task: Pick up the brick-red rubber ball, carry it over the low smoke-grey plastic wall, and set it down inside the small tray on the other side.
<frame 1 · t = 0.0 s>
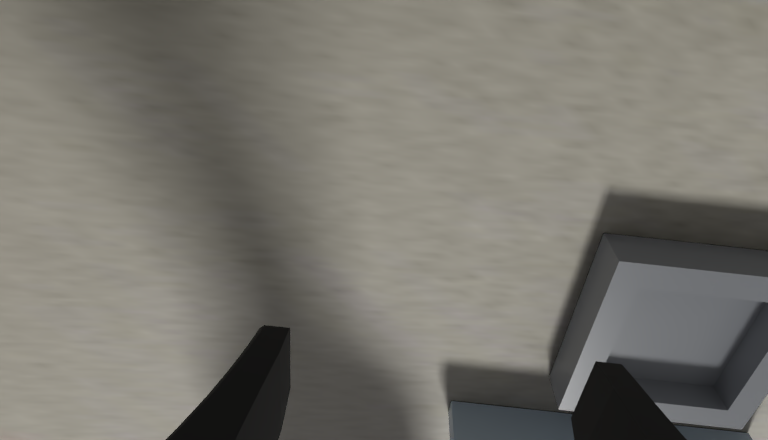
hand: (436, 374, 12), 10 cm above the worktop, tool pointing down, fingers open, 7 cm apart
low wall: (596, 422, 28), on the worktop
tray: (668, 322, 24), on the worktop
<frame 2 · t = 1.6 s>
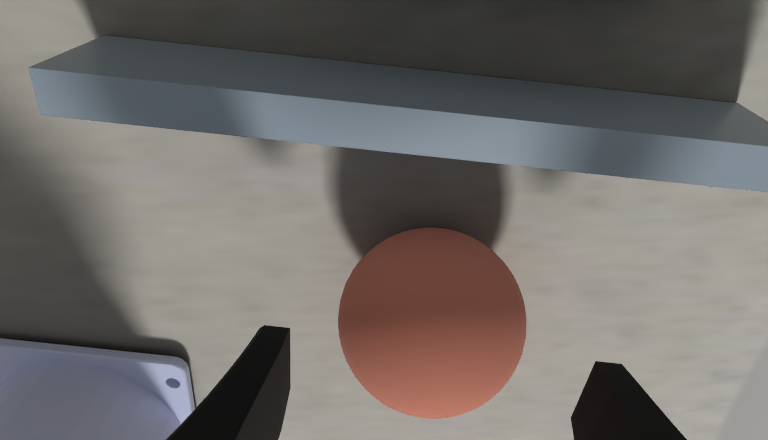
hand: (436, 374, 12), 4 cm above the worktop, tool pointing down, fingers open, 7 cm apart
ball: (430, 319, 14), point 2 cm above the worktop
low wall: (419, 88, 13), on the worktop
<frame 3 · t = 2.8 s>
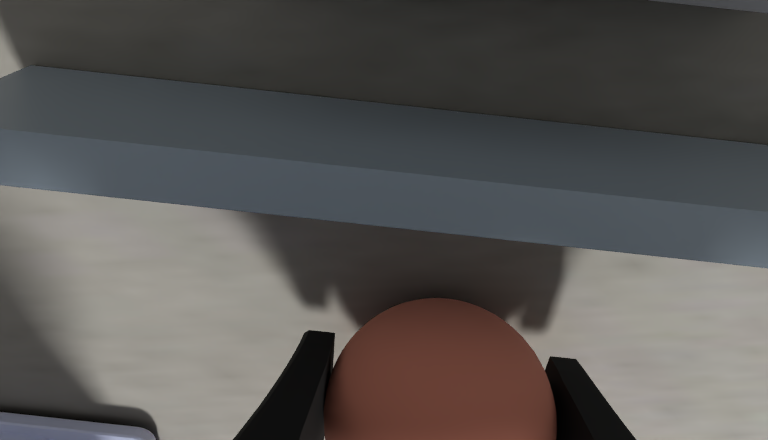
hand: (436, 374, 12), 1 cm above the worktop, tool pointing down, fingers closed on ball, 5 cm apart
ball: (437, 412, 11), point 2 cm above the worktop, touching gripper
low wall: (424, 131, 11), on the worktop
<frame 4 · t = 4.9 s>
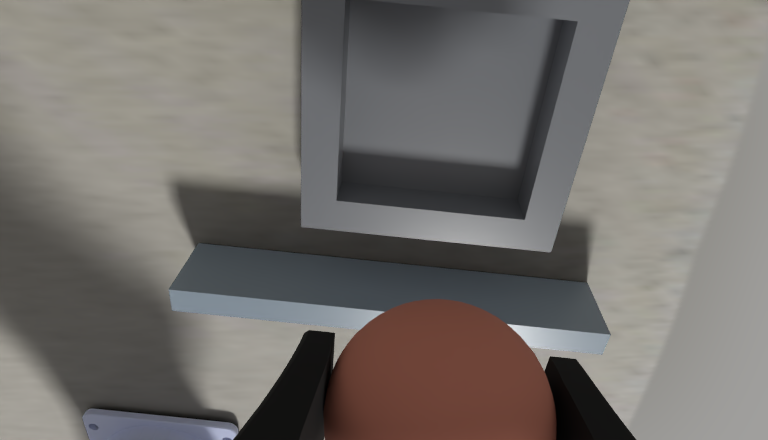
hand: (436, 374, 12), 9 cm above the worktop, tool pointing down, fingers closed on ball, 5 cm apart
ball: (437, 413, 11), point 10 cm above the worktop, touching gripper
low wall: (391, 272, 21), on the worktop
tray: (441, 99, 18), on the worktop
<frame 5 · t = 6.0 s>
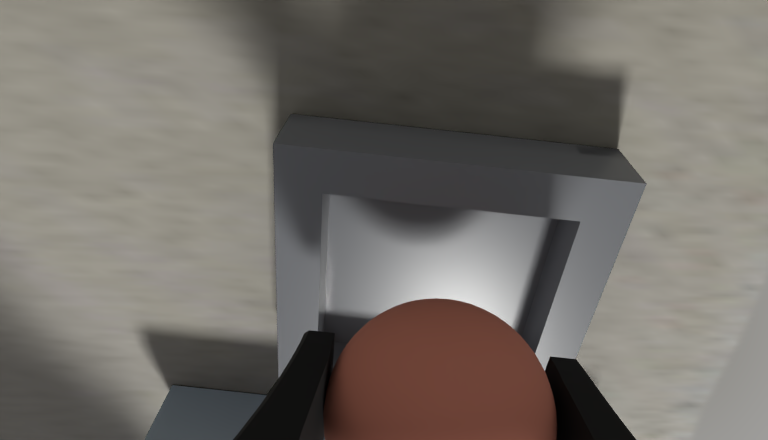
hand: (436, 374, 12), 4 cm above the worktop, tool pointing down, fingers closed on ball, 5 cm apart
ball: (437, 413, 11), point 6 cm above the worktop, touching gripper
low wall: (379, 415, 20), on the worktop
tray: (431, 263, 16), on the worktop
when the fingers open (4 cm above the worktop, at t = 7.0 s): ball drops 2 cm, resting on tray.
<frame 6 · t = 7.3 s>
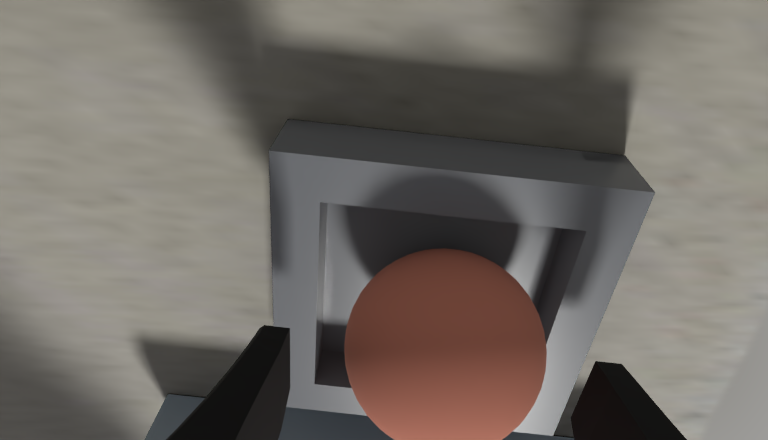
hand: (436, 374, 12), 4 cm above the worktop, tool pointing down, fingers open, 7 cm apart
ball: (443, 347, 13), point 3 cm above the worktop, tilted 6°, touching tray
low wall: (378, 425, 20), on the worktop
tray: (432, 271, 16), on the worktop
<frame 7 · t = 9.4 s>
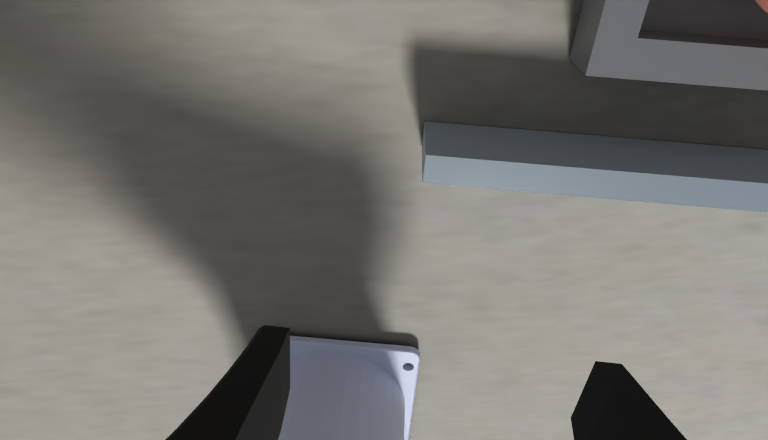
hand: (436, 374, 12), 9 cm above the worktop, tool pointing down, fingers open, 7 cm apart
low wall: (640, 152, 19), on the worktop
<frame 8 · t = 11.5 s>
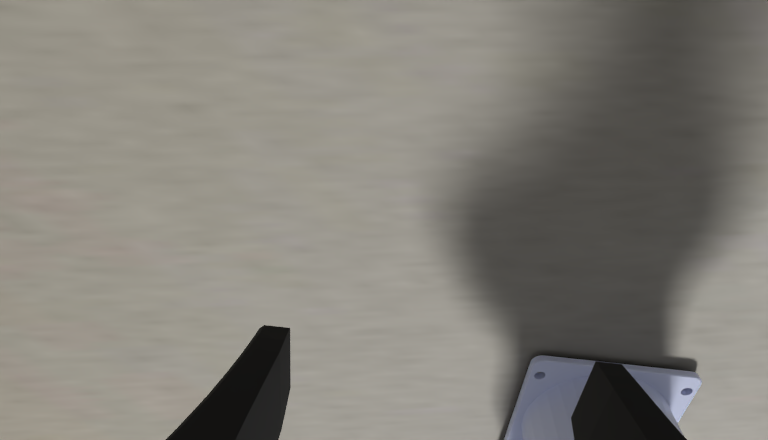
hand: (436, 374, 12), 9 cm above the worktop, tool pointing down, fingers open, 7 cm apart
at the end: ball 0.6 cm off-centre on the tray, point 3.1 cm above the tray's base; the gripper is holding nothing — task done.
